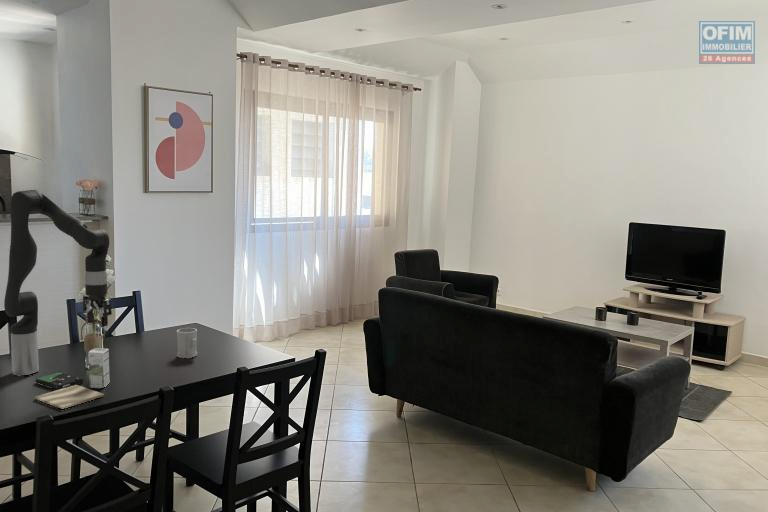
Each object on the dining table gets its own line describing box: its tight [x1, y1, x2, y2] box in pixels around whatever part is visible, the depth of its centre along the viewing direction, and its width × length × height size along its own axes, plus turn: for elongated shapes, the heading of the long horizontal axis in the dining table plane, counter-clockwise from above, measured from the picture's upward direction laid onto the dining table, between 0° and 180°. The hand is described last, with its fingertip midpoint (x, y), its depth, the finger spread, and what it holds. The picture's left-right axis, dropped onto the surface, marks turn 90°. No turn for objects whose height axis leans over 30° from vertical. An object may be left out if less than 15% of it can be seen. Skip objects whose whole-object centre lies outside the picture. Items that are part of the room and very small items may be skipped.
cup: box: [176, 327, 198, 359], centre depth 280 cm, size 10×9×12 cm
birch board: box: [34, 385, 105, 409], centre depth 226 cm, size 17×16×1 cm
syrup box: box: [87, 347, 111, 389], centre depth 238 cm, size 6×6×14 cm
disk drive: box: [35, 371, 84, 390], centre depth 241 cm, size 10×3×15 cm
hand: (97, 324), depth 236 cm, fingers open, 8 cm apart
